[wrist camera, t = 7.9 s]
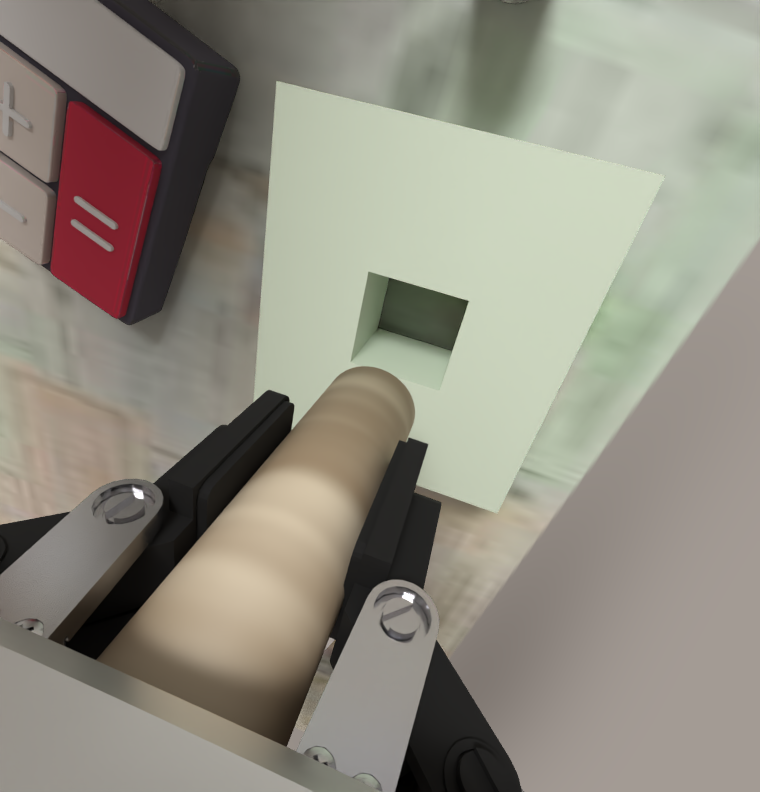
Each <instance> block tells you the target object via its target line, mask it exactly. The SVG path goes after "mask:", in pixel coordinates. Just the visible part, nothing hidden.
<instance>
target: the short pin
mask: <svg viewBox="0 0 760 792" xmlns="http://www.w3.org/2000/svg"><path fill="white" fill-rule="evenodd" d="M501 1H503V2H506V3H511V4H517V3H522V2H525V1H528V0H501Z"/></svg>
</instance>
